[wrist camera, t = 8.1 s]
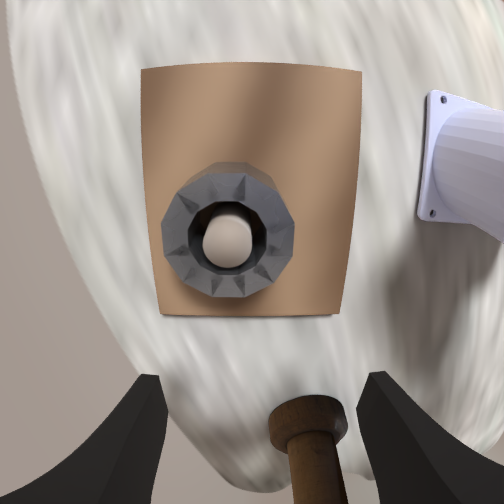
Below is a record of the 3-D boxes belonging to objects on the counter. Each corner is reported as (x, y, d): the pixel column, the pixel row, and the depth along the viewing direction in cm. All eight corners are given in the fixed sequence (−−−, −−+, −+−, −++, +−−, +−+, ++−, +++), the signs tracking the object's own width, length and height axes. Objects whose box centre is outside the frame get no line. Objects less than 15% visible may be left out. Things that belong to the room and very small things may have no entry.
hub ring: (286, 162, 15) (297, 174, 12) (281, 262, 17) (289, 297, 14) (176, 162, 15) (157, 175, 11) (182, 261, 17) (168, 295, 14)
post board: (355, 74, 14) (392, 60, 10) (335, 305, 19) (355, 351, 15) (146, 72, 14) (112, 57, 9) (163, 305, 19) (145, 352, 15)
